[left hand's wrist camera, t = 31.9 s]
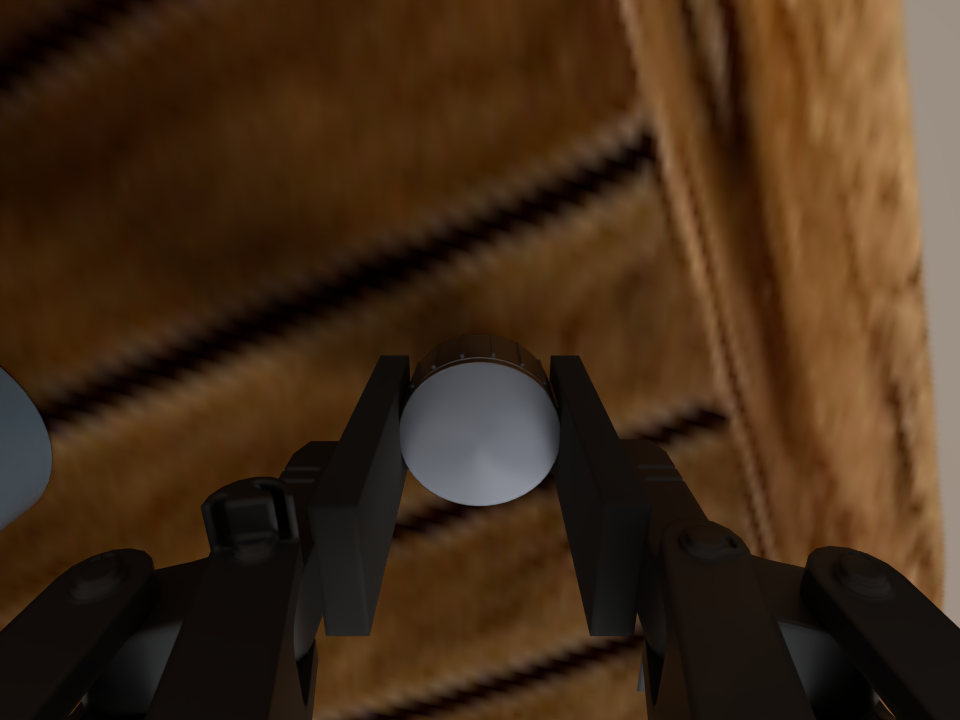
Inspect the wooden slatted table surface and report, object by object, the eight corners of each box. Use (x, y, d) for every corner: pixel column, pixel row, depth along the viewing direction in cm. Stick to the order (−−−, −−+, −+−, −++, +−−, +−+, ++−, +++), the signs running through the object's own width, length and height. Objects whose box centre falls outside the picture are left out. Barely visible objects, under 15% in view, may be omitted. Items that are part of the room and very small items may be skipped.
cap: (451, 484, 16) (447, 531, 14) (378, 372, 14) (362, 407, 12) (576, 428, 15) (590, 469, 13) (511, 305, 14) (517, 330, 12)
